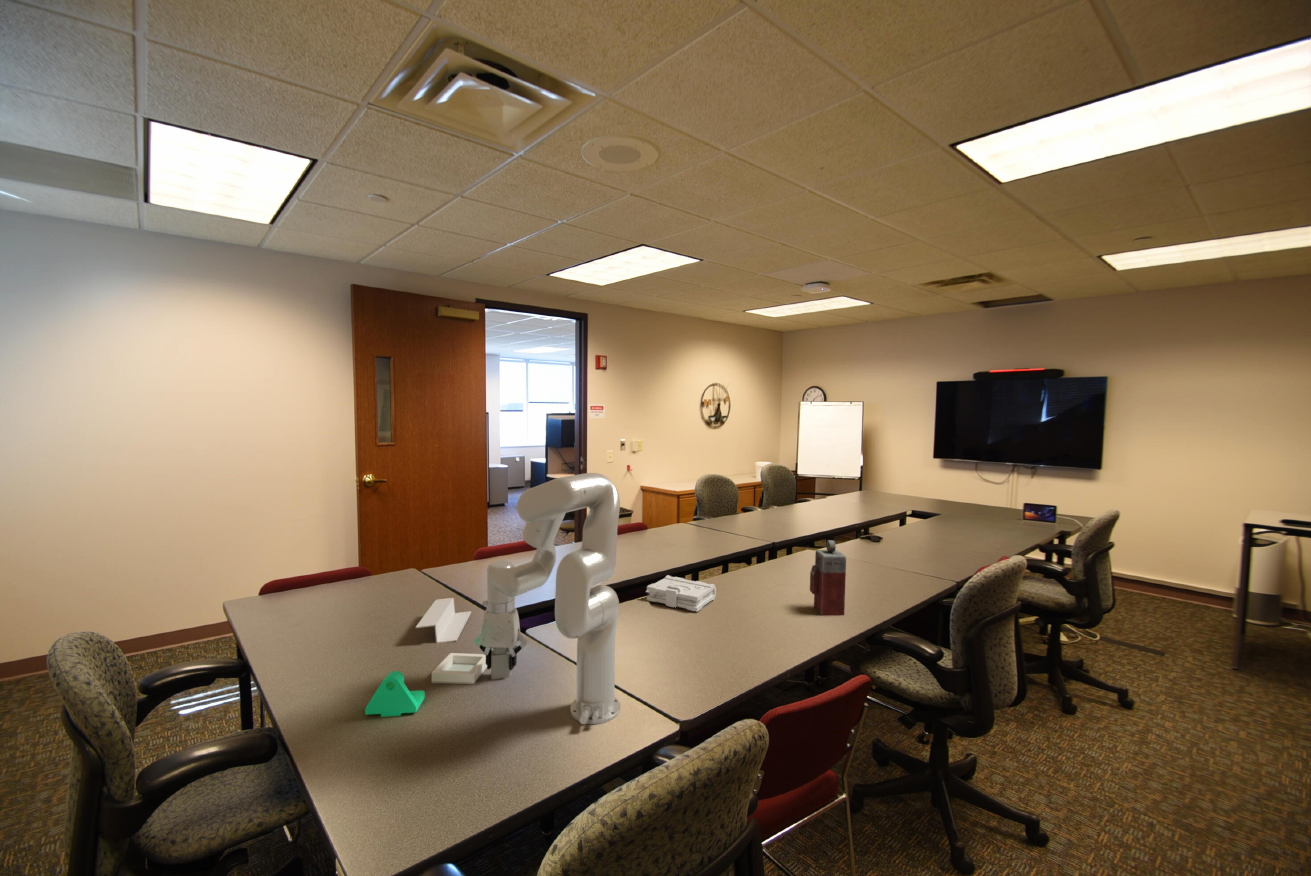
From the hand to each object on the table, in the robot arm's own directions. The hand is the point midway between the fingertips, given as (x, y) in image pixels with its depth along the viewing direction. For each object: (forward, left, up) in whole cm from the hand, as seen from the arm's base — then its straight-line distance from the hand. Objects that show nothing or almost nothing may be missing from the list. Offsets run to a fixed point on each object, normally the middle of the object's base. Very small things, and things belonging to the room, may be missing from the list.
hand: (501, 666), depth 153 cm
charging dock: (+1, +12, -3) cm, 12 cm away
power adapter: (0, 0, -3) cm, 3 cm away
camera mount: (-18, +21, -3) cm, 28 cm away
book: (+68, -49, -4) cm, 84 cm away
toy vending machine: (+59, -106, -3) cm, 121 cm away
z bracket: (+32, +31, -3) cm, 45 cm away
